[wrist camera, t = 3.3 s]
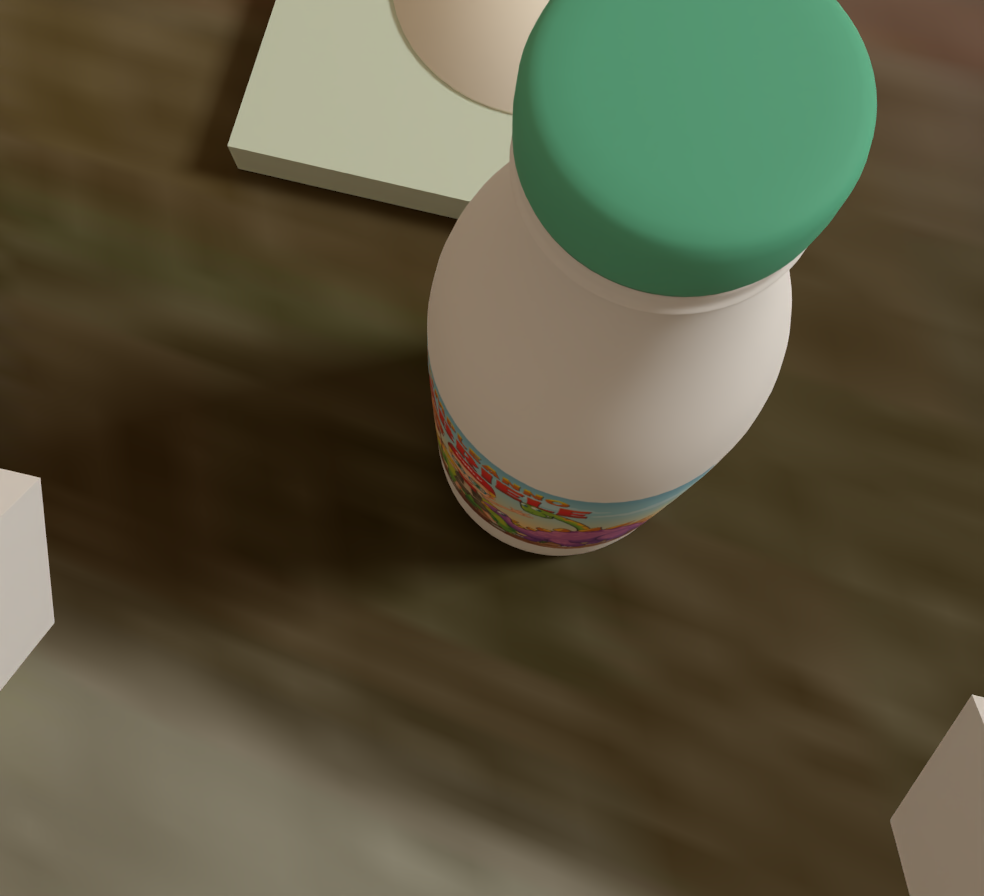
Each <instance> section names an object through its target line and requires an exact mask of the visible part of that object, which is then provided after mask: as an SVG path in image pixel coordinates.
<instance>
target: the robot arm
mask: <svg viewBox="0 0 984 896" xmlns="http://www.w3.org/2000/svg"><path fill="white" fill-rule="evenodd" d="M53 624H54V612H53V602H52V592H51V581H50V571H49V561H48V550H47V540H46V530H45V520H44V509H43V499H42V489H41V478H39V477H35V476H30V475H26V474H22V473H18V472H13V471H9V470H5V469H0V690H1V689H2V688H3V687H4V685H5V684H6V683H7V682H8V680H9V679H10V678H11V677H12V675H13V674H14V673H15V672H16V670H17V669H18V668H19V667H20V665H21V664H22V663H23V662H24V660H25V659H26V658H27V657H28V655H29V654H30V653H31V652H32V650H33V649H34V648H35V646H36V645H37V644H38V643H39V641H40V640H41V639H42V638H43V636H44V635H45V634H46V633H47V631H48V630H49V629H50V628H51V626H52V625H53ZM890 822H891V826H892V830H893V833H894V837H895V841H896V845H897V849H898V852H899V856H900V860H901V864H902V868H903V871H904V875H905V879H906V883H907V887H908V890H909V894H910V896H984V697H980V696H976V695H971V697H970V699H969V700H968V702H967V703H966V705H965V706H964V708H963V709H962V711H961V712H960V714H959V715H958V717H957V718H956V720H955V721H954V723H953V725H952V726H951V728H950V729H949V731H948V732H947V734H946V735H945V737H944V738H943V740H942V741H941V743H940V744H939V746H938V747H937V749H936V751H935V752H934V754H933V755H932V757H931V758H930V760H929V761H928V763H927V764H926V766H925V767H924V769H923V770H922V772H921V773H920V775H919V777H918V778H917V780H916V781H915V783H914V784H913V786H912V787H911V789H910V790H909V792H908V793H907V795H906V796H905V798H904V799H903V801H902V803H901V804H900V806H899V807H898V809H897V810H896V812H895V813H894V815H893V816H892V818H891V819H890Z"/></svg>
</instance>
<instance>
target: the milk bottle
mask: <svg viewBox="0 0 984 896" xmlns="http://www.w3.org/2000/svg"><path fill="white" fill-rule="evenodd" d="M876 112H877V96H876V85H875V79H874V73H873V69H872V65H871V62H870V58H869V55H868V53H867V50H866V48H865V45H864V43H863V41H862V39H861V37H860V35H859V33H858V31H857V29H856V27H855V26H854V24H853V22H852V21H851V19H850V18H849V16H848V15H847V13H846V12H845V11H844V10H843V8H842V7H841V6H840V4H839V3H838V2H837V1H836V0H549V2H548V3H547V5H546V6H545V8H544V9H543V11H542V13H541V14H540V16H539V18H538V20H537V21H536V23H535V25H534V27H533V29H532V31H531V33H530V35H529V37H528V39H527V42H526V44H525V47H524V49H523V53H522V56H521V60H520V64H519V69H518V75H517V81H516V87H515V94H514V100H513V116H512V138H511V145H510V156H509V162H508V163H507V164H506V165H505V166H503V167H502V168H501V169H500V170H499V171H497V172H496V173H495V174H494V175H493V176H492V177H491V178H490V179H489V180H488V181H487V182H486V183H485V184H484V185H483V186H482V188H481V189H480V190H479V191H478V192H477V194H476V195H475V196H474V197H473V199H472V200H471V201H470V202H469V203H468V205H467V206H466V208H465V209H464V211H463V212H462V214H461V215H460V217H459V218H458V220H457V222H456V224H455V226H454V228H453V229H452V231H451V233H450V235H449V237H448V239H447V241H446V243H445V245H444V248H443V250H442V253H441V256H440V258H439V261H438V265H437V268H436V272H435V275H434V280H433V284H432V288H431V293H430V299H429V305H428V319H427V350H428V368H429V378H430V387H431V396H432V404H433V412H434V419H435V426H436V433H437V440H438V447H439V453H440V458H441V462H442V466H443V469H444V472H445V475H446V478H447V481H448V483H449V485H450V487H451V489H452V492H453V493H454V495H455V497H456V498H457V500H458V502H459V503H460V505H461V506H462V507H463V509H464V510H465V511H466V513H467V514H468V515H469V516H470V517H471V518H472V519H473V520H474V521H475V522H476V523H477V524H478V525H479V526H480V527H481V528H483V529H484V530H485V531H487V532H488V533H489V534H491V535H492V536H494V537H495V538H497V539H499V540H500V541H502V542H504V543H506V544H508V545H511V546H513V547H515V548H518V549H521V550H524V551H528V552H532V553H536V554H542V555H553V556H566V555H576V554H583V553H587V552H591V551H594V550H597V549H600V548H603V547H605V546H607V545H609V544H612V543H614V542H616V541H618V540H619V539H621V538H623V537H625V536H626V535H628V534H629V533H631V532H632V531H634V530H635V529H636V528H638V527H639V526H641V525H642V524H643V523H645V522H646V521H647V520H648V519H650V518H651V517H652V516H654V515H655V514H656V513H658V512H659V511H660V510H662V509H663V508H664V507H665V506H667V505H668V504H669V503H671V502H672V501H673V500H675V499H676V498H677V497H678V496H680V495H681V494H682V493H683V492H684V491H686V490H687V489H688V488H689V487H691V486H692V485H693V484H694V483H696V482H697V481H698V480H699V479H700V478H702V477H703V476H704V475H705V474H706V473H707V472H708V471H709V470H711V469H712V468H713V467H714V466H715V465H716V464H717V463H718V462H719V461H720V460H721V459H722V458H723V457H724V456H725V455H726V454H727V453H728V452H729V451H730V450H731V449H732V448H733V447H734V446H735V445H736V444H737V442H738V441H739V440H740V439H741V438H742V437H743V436H744V434H745V433H746V432H747V430H748V429H749V428H750V426H751V425H752V423H753V422H754V420H755V419H756V417H757V416H758V414H759V412H760V411H761V409H762V407H763V406H764V404H765V402H766V400H767V399H768V397H769V395H770V393H771V391H772V389H773V387H774V384H775V382H776V379H777V377H778V374H779V371H780V368H781V365H782V361H783V358H784V355H785V351H786V348H787V343H788V338H789V332H790V321H791V307H792V294H791V281H790V273H789V270H790V268H791V267H792V266H793V265H794V264H795V263H796V262H797V261H798V259H799V258H800V257H801V255H802V254H803V252H804V251H805V250H806V248H807V247H808V246H809V245H810V244H811V243H812V242H813V240H814V239H815V238H816V237H817V236H818V235H819V234H820V233H821V232H822V231H823V230H824V229H825V227H826V226H827V225H828V224H829V223H830V222H831V220H832V219H833V217H834V216H835V215H836V213H837V212H838V210H839V209H840V207H841V206H842V205H843V203H844V202H845V200H846V199H847V197H848V196H849V195H850V193H851V192H852V190H853V188H854V187H855V185H856V183H857V181H858V179H859V178H860V175H861V173H862V171H863V168H864V166H865V163H866V160H867V157H868V153H869V150H870V147H871V143H872V139H873V135H874V129H875V123H876Z"/></svg>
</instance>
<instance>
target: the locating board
mask: <svg viewBox="0 0 984 896" xmlns="http://www.w3.org/2000/svg"><path fill="white" fill-rule="evenodd" d="M548 2H549V0H276V1H275V4H274V7H273V10H272V13H271V16H270V19H269V22H268V25H267V28H266V31H265V34H264V37H263V40H262V43H261V46H260V49H259V52H258V55H257V58H256V61H255V64H254V67H253V70H252V73H251V76H250V79H249V82H248V85H247V88H246V91H245V94H244V97H243V100H242V103H241V106H240V109H239V112H238V115H237V118H236V121H235V124H234V127H233V130H232V133H231V136H230V139H229V142H228V145H227V146H228V148H229V150H230V153H231V155H232V157H233V159H234V161H235V163H236V165H237V167H238V169H242V170H246V171H251V172H255V173H259V174H264V175H268V176H272V177H277V178H281V179H286V180H290V181H294V182H299V183H303V184H307V185H312V186H316V187H320V188H325V189H329V190H333V191H338V192H342V193H346V194H351V195H355V196H359V197H364V198H368V199H372V200H377V201H381V202H385V203H390V204H394V205H398V206H403V207H407V208H411V209H416V210H420V211H424V212H429V213H433V214H437V215H442V216H446V217H451V218H455V219H458V218H459V217H460V215H461V214H462V212H463V211H464V209H465V208H466V206H467V205H468V203H469V202H470V201H471V200H472V199H473V197H474V196H475V195H476V194H477V192H478V191H479V190H480V189H481V188H482V186H483V185H484V184H485V183H486V182H487V181H488V180H489V179H490V178H491V177H492V176H493V175H494V174H495V173H496V172H497V171H499V170H500V169H501V168H502V167H503V166H505V165H506V164H507V163H508V162H509V156H510V145H511V138H512V116H513V100H514V94H515V87H516V81H517V75H518V69H519V64H520V60H521V56H522V53H523V49H524V47H525V44H526V42H527V39H528V37H529V35H530V33H531V31H532V29H533V27H534V25H535V23H536V21H537V20H538V18H539V16H540V14H541V13H542V11H543V9H544V8H545V6H546V5H547V3H548Z"/></svg>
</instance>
